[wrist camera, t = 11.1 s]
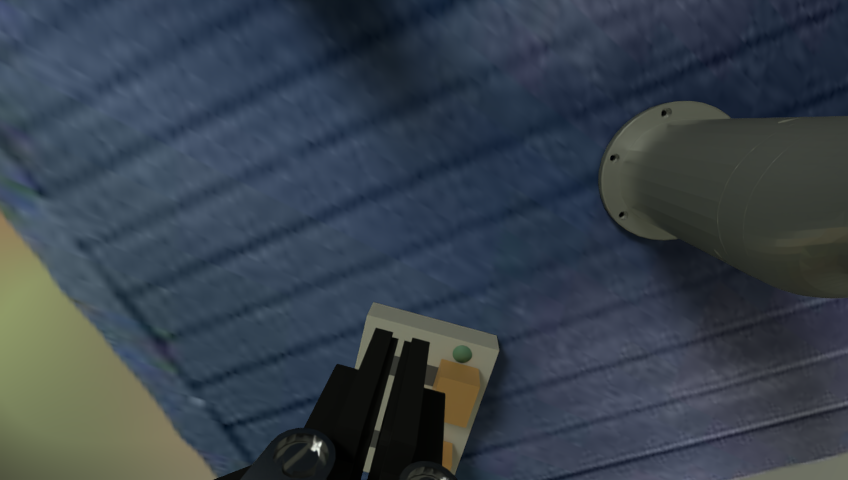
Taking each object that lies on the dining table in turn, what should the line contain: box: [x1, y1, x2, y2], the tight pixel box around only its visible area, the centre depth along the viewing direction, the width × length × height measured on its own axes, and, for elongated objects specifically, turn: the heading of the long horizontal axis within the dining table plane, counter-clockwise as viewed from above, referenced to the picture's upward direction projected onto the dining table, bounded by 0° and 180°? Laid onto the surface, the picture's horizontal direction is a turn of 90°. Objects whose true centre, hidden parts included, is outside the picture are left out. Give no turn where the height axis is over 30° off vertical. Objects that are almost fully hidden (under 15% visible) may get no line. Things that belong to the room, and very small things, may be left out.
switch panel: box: [355, 302, 499, 475], centre depth 45 cm, size 14×20×3 cm
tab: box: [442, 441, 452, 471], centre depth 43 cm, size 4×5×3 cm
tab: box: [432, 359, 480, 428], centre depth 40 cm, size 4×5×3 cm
